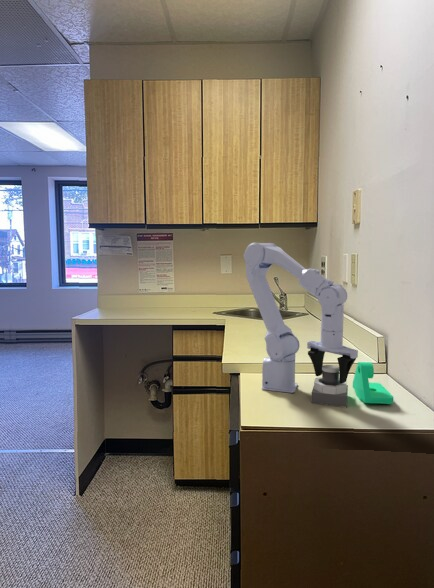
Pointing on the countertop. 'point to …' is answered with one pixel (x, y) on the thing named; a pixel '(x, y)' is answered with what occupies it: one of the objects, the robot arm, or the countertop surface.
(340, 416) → the countertop surface
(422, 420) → the countertop surface
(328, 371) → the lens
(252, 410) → the countertop surface
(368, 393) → the camera mount
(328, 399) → the square octagon-collar plate
